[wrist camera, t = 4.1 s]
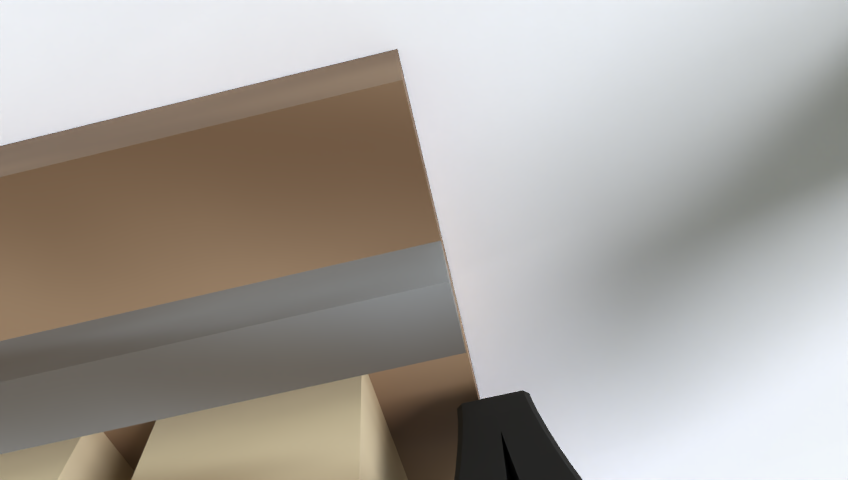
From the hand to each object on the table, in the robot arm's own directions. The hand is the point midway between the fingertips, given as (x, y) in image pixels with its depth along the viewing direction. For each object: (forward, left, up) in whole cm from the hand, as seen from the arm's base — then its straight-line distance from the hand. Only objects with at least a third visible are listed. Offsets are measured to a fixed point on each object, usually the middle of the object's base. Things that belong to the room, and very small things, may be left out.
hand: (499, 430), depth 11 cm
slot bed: (0, +7, -3) cm, 8 cm away
